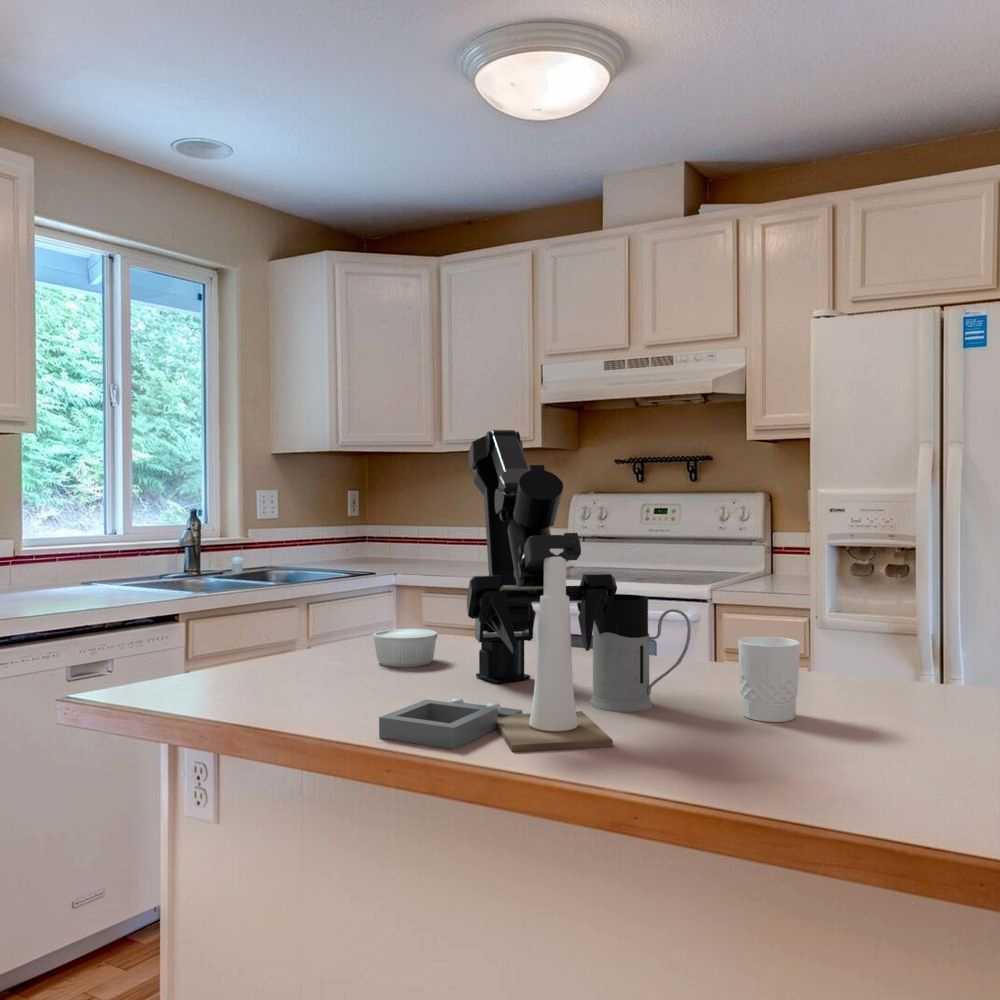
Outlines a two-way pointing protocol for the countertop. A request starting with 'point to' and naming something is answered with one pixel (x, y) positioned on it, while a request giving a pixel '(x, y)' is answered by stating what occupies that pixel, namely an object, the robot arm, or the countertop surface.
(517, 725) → the walnut pad
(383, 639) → the ramekin
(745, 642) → the white cup
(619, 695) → the glass holder
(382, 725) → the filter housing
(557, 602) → the cosmetic bottle
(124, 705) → the countertop surface
